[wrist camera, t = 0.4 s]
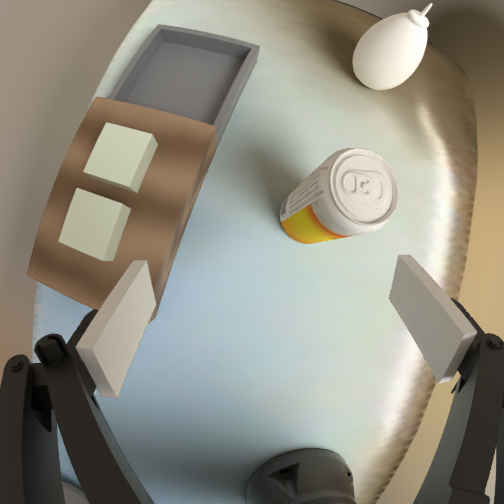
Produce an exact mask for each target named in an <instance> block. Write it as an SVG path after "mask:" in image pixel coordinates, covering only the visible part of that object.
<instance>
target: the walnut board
mask: <svg viewBox="0 0 504 504" xmlns="http://www.w3.org/2000/svg"><path fill="white" fill-rule="evenodd" d="M106 122H107V123H111V124H115V125H120V126H124V127H127V128H131V129H135V130H139V131H143V132H146V133H150V134H153V136H154V138H155V140H156V142H157V143H158V146H157V148H156V150H155V153H154V155H153V157H152V159H151V162H150V164H149V166H148V169H147V171H146V173H145V176H144V178H143V180H142V183H141V185H140V188H139V190H138V193H135V192H132V191H129V190H126V189H123V188H120V187H117V186H114V185H111V184H108V183H105V182H102V181H99V180H96V179H93V178H92V177H90V176H89V175H87V174H86V173H84V172H83V171H84V169H85V166H86V164H87V162H88V159H89V157H90V155H91V153H92V151H93V148H94V146H95V144H96V142H97V140H98V138H99V136H100V134H101V132H102V130H103V128H104V126H105V124H106ZM216 149H217V148H216V126H213V125H210V124H206V123H203V122H200V121H196V120H193V119H189V118H186V117H182V116H179V115H175V114H171V113H168V112H164V111H160V110H156V109H152V108H148V107H143V106H139V105H135V104H130V103H126V102H121V101H116V100H111V99H106V98H101V97H96V98H95V100H94V101H93V103H92V105H91V107H90V108H89V110H88V112H87V114H86V116H85V118H84V120H83V121H82V123H81V125H80V127H79V129H78V131H77V133H76V135H75V137H74V139H73V142H72V144H71V146H70V148H69V150H68V152H67V155H66V157H65V159H64V162H63V164H62V166H61V169H60V171H59V173H58V176H57V178H56V181H55V183H54V186H53V189H52V192H51V194H50V197H49V200H48V202H47V206H46V208H45V211H44V214H43V218H42V221H41V224H40V227H39V230H38V234H37V237H36V241H35V244H34V248H33V252H32V256H31V260H30V264H29V268H28V273H27V275H28V276H30V277H32V278H33V279H35V280H37V281H39V282H41V283H42V284H44V285H46V286H48V287H50V288H52V289H54V290H56V291H58V292H60V293H62V294H64V295H66V296H68V297H70V298H72V299H74V300H76V301H78V302H80V303H82V304H84V305H86V306H88V307H90V308H93V309H96V310H99V309H100V308H101V306H102V305H103V303H104V302H105V300H106V299H107V297H108V296H109V295H110V293H111V292H112V290H113V289H114V287H115V286H116V284H117V283H118V282H119V280H120V279H121V277H122V276H123V274H124V273H125V272H126V270H127V269H128V267H129V266H130V265H131V263H132V262H133V261H134V260H147V264H148V269H149V273H150V278H151V283H152V288H153V292H154V297H155V301H156V306H155V309H154V311H153V313H152V315H151V318H150V320H149V322H148V324H149V323H150V322H151V321H152V320H153V319H154V318H155V317H156V314H157V311H158V308H159V304H160V301H161V298H162V295H163V292H164V289H165V286H166V282H167V279H168V276H169V273H170V270H171V267H172V264H173V261H174V259H175V256H176V253H177V250H178V247H179V244H180V241H181V239H182V236H183V233H184V230H185V228H186V225H187V222H188V219H189V217H190V214H191V211H192V209H193V206H194V203H195V201H196V198H197V196H198V193H199V191H200V188H201V185H202V183H203V180H204V178H205V175H206V173H207V170H208V168H209V166H210V163H211V161H212V158H213V156H214V154H215V151H216ZM76 188H79V189H82V190H85V191H88V192H91V193H93V194H96V195H99V196H102V197H105V198H108V199H111V200H113V201H116V202H119V203H122V204H124V205H126V206H127V207H129V208H131V211H130V214H129V216H128V219H127V222H126V225H125V227H124V230H123V233H122V236H121V239H120V242H119V245H118V248H117V251H116V254H115V257H114V260H113V261H102V260H100V259H97V258H95V257H93V256H90V255H88V254H86V253H83V252H81V251H79V250H76V249H74V248H72V247H70V246H67V245H65V244H63V243H61V242H58V241H59V238H60V234H61V231H62V228H63V225H64V222H65V219H66V216H67V213H68V210H69V207H70V204H71V202H72V199H73V196H74V194H75V191H76Z"/></svg>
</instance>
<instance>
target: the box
mask: <svg viewBox="0 0 504 504" xmlns="http://www.w3.org/2000/svg"><path fill="white" fill-rule="evenodd" d="M259 48H260V46H258V45H254V44H251V43H248V42H244V41H240V40H237V39H233V38H229V37H225V36H220V35H216V34H212V33H207V32H202V31H197V30H192V29H186V28H180V27H174V26H167V25H159V24H158V25H157V27H156V28H155V29H154V30H153V32H152V33H151V34H150V36H149V37H148V38H147V40H146V41H145V43H144V44H143V45H142V47H141V48H140V49H139V51H138V52H137V54H136V55H135V57H134V58H133V60H132V61H131V63H130V64H129V66H128V67H127V69H126V70H125V72H124V73H123V75H122V76H121V78H120V80H119V81H118V83H117V85H116V86H115V88H114V89H113V91H112V93H111V95H110V96H109V98H108V99H111V100H116V101H121V102H126V103H130V104H135V105H139V106H143V107H148V108H152V109H156V110H160V111H164V112H168V113H171V114H175V115H179V116H182V117H186V118H189V119H193V120H196V121H200V122H203V123H206V124H210V125H213V126H216V148H217V146H218V144H219V142H220V139H221V137H222V135H223V133H224V130H225V128H226V126H227V123H228V121H229V119H230V117H231V115H232V112H233V110H234V108H235V106H236V104H237V101H238V99H239V97H240V95H241V93H242V91H243V89H244V87H245V84H246V82H247V80H248V78H249V76H250V74H251V72H252V70H253V68H254V66H255V64H256V62H257V57H258V52H259Z"/></svg>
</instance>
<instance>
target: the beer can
mask: <svg viewBox="0 0 504 504" xmlns="http://www.w3.org/2000/svg"><path fill="white" fill-rule="evenodd" d="M398 200H399V186H398V181H397V178H396V175H395V173H394V171H393V170H392V168H391V166H390V165H389V164H388V163H387V161H386V160H385V159H384V158H382V157H381V156H380V155H378V154H377V153H375V152H373V151H371V150H368V149H362V148H348V149H342V150H339V151H337V152H335V153H334V154H332V155H331V156H330V157H329V158H327V159H326V160H325V161H324V162H323V163H322V164H321V165H320V166H319V167H318V168H317V169H316V170H315V171H314V172H313V173H312V174H311V175H309V176H308V177H307V178H306V179H305V180H304V181H303V182H302V183H301V184H300V185H299V186H298V187H297V188H296V189H295V190H294V191H293V192H292V193H291V194H289V195H288V196H287V198H286V199H285V200H284V202H283V204H282V206H281V210H280V220H281V224H282V227H283V229H284V230H285V232H286V233H287V234H288V235H289V237H291V238H292V239H293V240H295V241H297V242H300V243H304V244H312V243H318V242H323V241H328V240H334V239H339V238H344V237H350V236H355V235H360V234H366V233H370V232H374V231H376V230H378V229H380V228H381V227H382V226H384V225H385V224H386V223H387V221H388V220H389V219H390V217H391V216H392V215H393V213H394V211H395V210H396V207H397V204H398Z"/></svg>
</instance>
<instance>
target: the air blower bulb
mask: <svg viewBox="0 0 504 504" xmlns="http://www.w3.org/2000/svg"><path fill="white" fill-rule="evenodd" d="M431 6H432V3H431V4H429V5H428V6H427V7H426V8H425V9H424V10H423V11H422V12H421V13H420V12H418V11H417V10H410V11H409V12H408V13H400V14H395V15H392V16H390V17H387V18H386V19H383V20H381V21H380V22H378V23H376V24H375V25H373V26H372V27H371V28H370V29H369V30H368V31H367V32H366V33H365V34H364V35H363V36H362V37H361V39H360V40H359V42H358V44H357V46H356V48H355V51H354V54H353V70H354V73H355V75H356V77H357V78H358V79H359V80H360V81H361V82H362V83H363V84H364V85H366V86H367V87H369V88H371V89H374V90H386V89H390V88H393V87H395V86H397V85H399V84H401V83H402V82H404V81H405V80H406V79H407V78H408V77H409V76H410V75H411V74H412V73H413V72H414V71H415V70H416V68H417V67H418V65H419V63H420V61H421V59H422V57H423V54H424V52H425V48H426V43H427V27H428V26H429V21H428V19H427V18H426V17H425V16H424V15H425V14H426V13H427V12H428V10H429V9H430V8H431Z"/></svg>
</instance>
